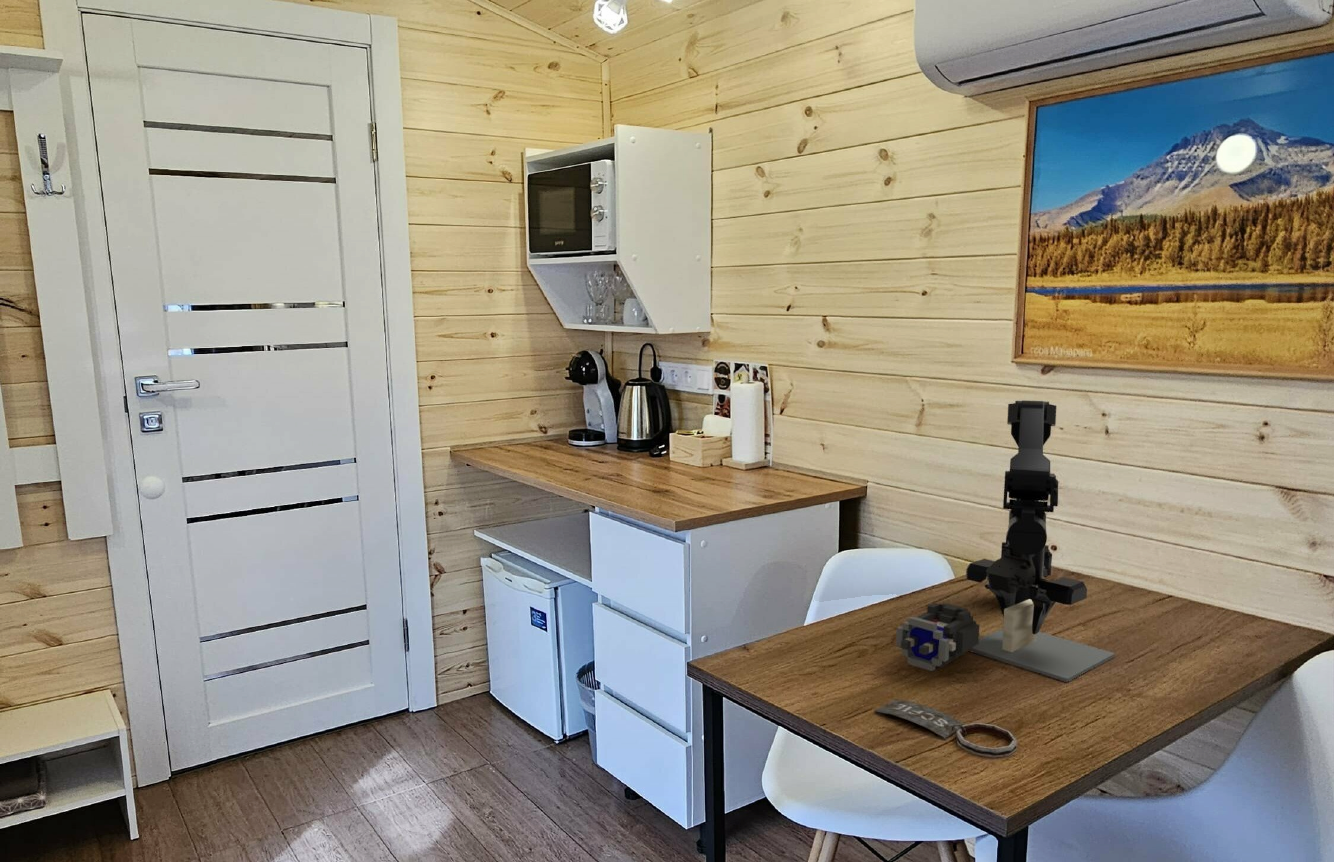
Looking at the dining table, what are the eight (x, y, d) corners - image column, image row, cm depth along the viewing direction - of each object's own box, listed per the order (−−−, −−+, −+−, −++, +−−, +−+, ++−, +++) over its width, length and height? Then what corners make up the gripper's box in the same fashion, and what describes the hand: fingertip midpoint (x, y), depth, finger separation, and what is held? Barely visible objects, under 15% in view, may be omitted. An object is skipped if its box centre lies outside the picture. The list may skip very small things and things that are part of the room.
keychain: (901, 701, 130) (901, 688, 130) (1027, 747, 116) (1028, 733, 116) (870, 717, 125) (871, 704, 125) (999, 768, 111) (1000, 753, 111)
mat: (962, 648, 149) (962, 645, 149) (1012, 627, 159) (1013, 624, 159) (1067, 682, 135) (1067, 678, 135) (1114, 656, 145) (1115, 653, 145)
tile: (1026, 638, 152) (1028, 598, 151) (1036, 640, 151) (1038, 601, 150) (1001, 649, 147) (1003, 608, 146) (1011, 652, 146) (1013, 611, 145)
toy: (889, 617, 140) (938, 596, 150) (888, 669, 141) (936, 645, 151) (938, 631, 133) (986, 608, 144) (937, 685, 135) (984, 659, 145)
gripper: (949, 536, 149) (946, 625, 151) (1056, 560, 135) (1051, 658, 137) (985, 526, 156) (981, 611, 158) (1091, 547, 142) (1085, 641, 144)
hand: (1021, 629), depth 149 cm, fingers open, 4 cm apart
